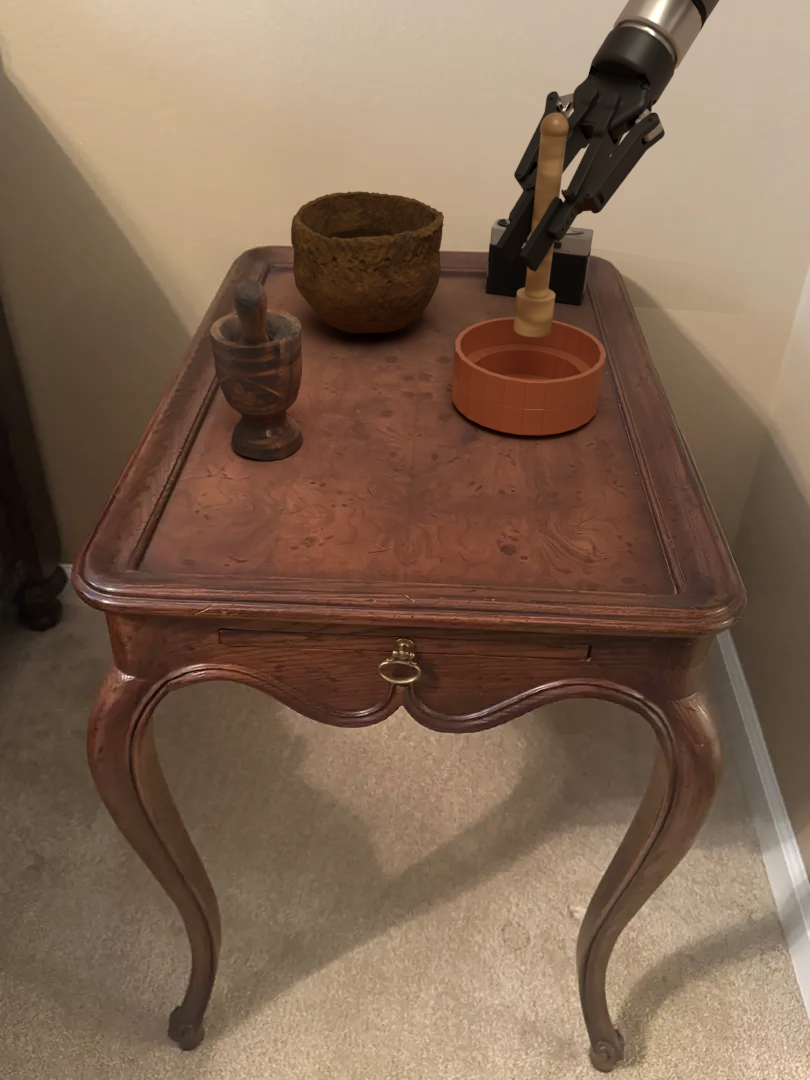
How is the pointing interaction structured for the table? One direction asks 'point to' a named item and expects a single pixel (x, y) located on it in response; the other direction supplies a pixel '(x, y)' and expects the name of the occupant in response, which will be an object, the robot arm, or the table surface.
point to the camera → (565, 265)
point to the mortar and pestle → (259, 372)
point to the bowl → (367, 259)
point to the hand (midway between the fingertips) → (515, 258)
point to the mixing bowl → (527, 377)
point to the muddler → (535, 296)
